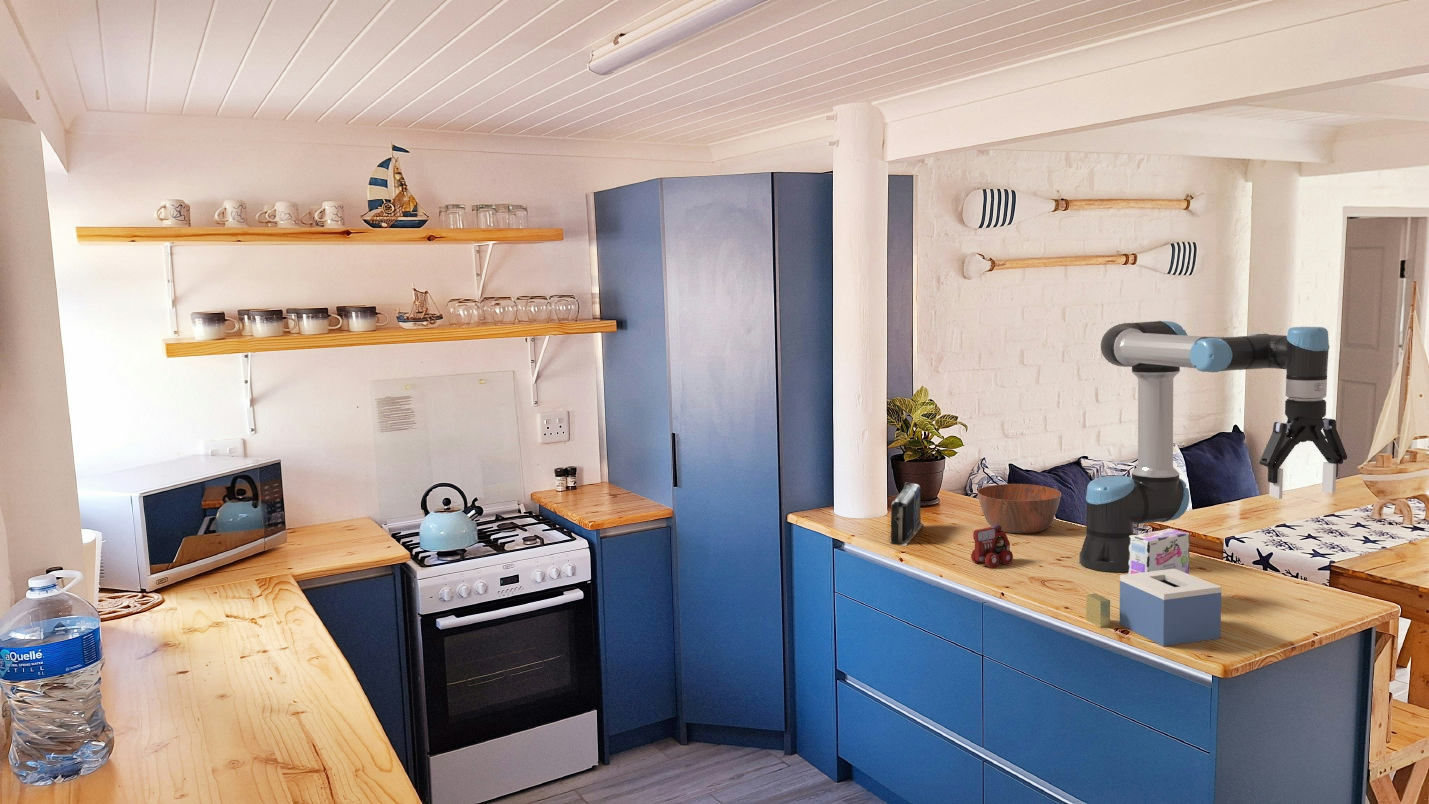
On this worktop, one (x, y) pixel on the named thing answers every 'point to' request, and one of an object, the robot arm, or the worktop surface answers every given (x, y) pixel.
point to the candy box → (1159, 551)
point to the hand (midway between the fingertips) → (1302, 495)
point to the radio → (906, 515)
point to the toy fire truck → (991, 547)
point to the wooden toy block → (1098, 610)
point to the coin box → (1170, 606)
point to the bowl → (1019, 507)
